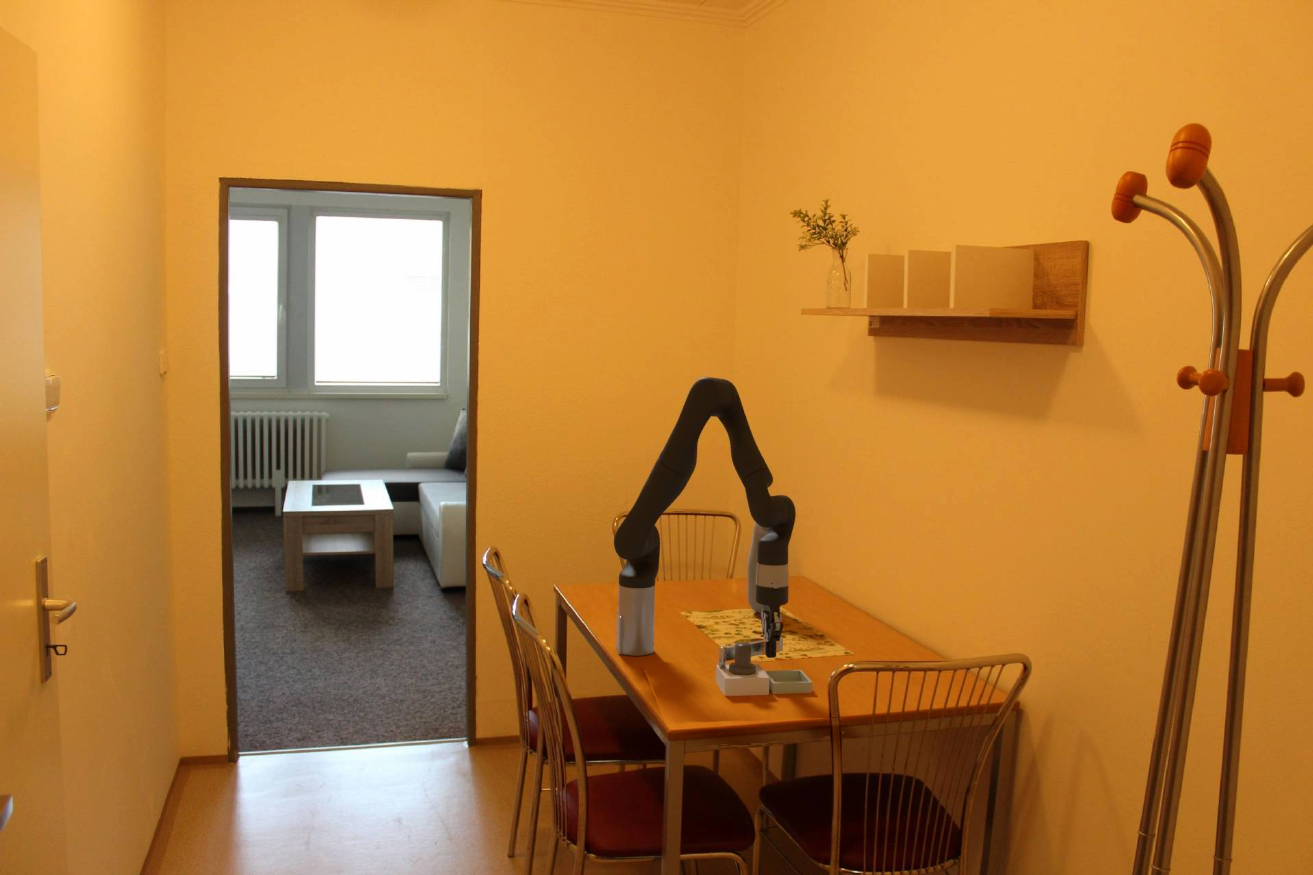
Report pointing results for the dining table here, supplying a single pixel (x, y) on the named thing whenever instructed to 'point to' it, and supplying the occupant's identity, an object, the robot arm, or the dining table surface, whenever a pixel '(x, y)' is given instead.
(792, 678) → the tray
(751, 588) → the grey bottle
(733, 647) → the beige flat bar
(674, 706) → the dining table surface
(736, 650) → the plug
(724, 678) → the socket block
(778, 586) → the robot arm
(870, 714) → the dining table surface
